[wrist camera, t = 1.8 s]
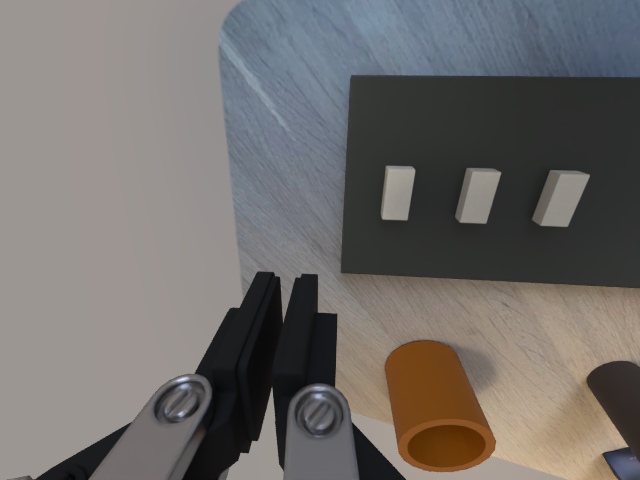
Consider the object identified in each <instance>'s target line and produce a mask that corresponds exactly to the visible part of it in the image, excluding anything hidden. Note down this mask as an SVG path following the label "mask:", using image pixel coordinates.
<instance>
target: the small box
mask: <svg viewBox="0 0 640 480" xmlns="http://www.w3.org/2000/svg"><path fill="white" fill-rule="evenodd" d="M603 456H604V458H605V460H606V461H607V463H608V465H609V467H610V468H611V470H612V472H613V473H614V475H615V476H616V477H617V479H618V480H640V463H639V461H638V460H637V458H636V457H635V455H634V454H633V452H632V451H631V449H630V448H625V449H621V450H617V451H612V452H608V453H603Z"/></svg>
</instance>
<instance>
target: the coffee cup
mask: <svg viewBox="0 0 640 480" xmlns="http://www.w3.org/2000/svg"><path fill="white" fill-rule="evenodd" d="M587 384H588V387H589V388H590V390H591V391H592V393H593V394H594V396H595V397H596V399H597V400H598V402H599V403H600V405H601V406H602V408H603V409H604V410H605V412H606V413H607V415H608V416H609V418H610V419H611V421H612V422H613V424H614V425H615V427H616V428H617V430H618V431H619V433H620V434H621V436H622V437H623V439H624V440H625V442H626V443H627V445H628V446H629V448H630V449H631V451H632V452H633V454H634V455H635V457H636V458H637V460H638V461H639V463H640V367H638V366H637V365H636V364H634V363H631V362H626V361H617V362H611V363H607V364H604V365H602V366H600V367H598V368H596V369H595V370H594V371H592V372H591V373H590V375H589V376H588V378H587Z"/></svg>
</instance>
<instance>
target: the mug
mask: <svg viewBox="0 0 640 480" xmlns="http://www.w3.org/2000/svg"><path fill="white" fill-rule="evenodd" d="M385 372H386V378H387V384H388V390H389V396H390V403H391V409H392V415H393V421H394V427H395V433H396V439H397V445H398V450H399V454H400V455H401V457H402V458H403V459H404V461H406V462H407V463H409V464H410V465H412V466H414V467H417V468H420V469H423V470H426V471H434V472H454V471H459V470H465V469H468V468H471V467H474V466H476V465H478V464H480V463H482V462H483V461H485V460H486V459H488V458H489V457H490V456H491V454H492V453H493V451H494V450H495V445H496V440H495V438H494V436H493V433H492V431H491V429H490V427H489V424H488V422H487V420H486V418H485V416H484V413H483V411H482V409H481V407H480V404H479V402H478V400H477V398H476V396H475V393H474V391H473V389H472V387H471V384H470V382H469V380H468V378H467V376H466V373H465V371H464V369H463V367H462V364H461V362H460V360H459V358H458V356H457V354H456V352H455V351H453V350H452V349H451V348H450V347H449V346H446V345H444V344H442V343H439V342H433V341H418V342H412V343H409V344H406V345H403V346H401V347H400V348H398V349H397V350H395V351H394V352H393V353H392V354H391V355H390V356H389V357H388V358H387V361H386V364H385Z"/></svg>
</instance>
